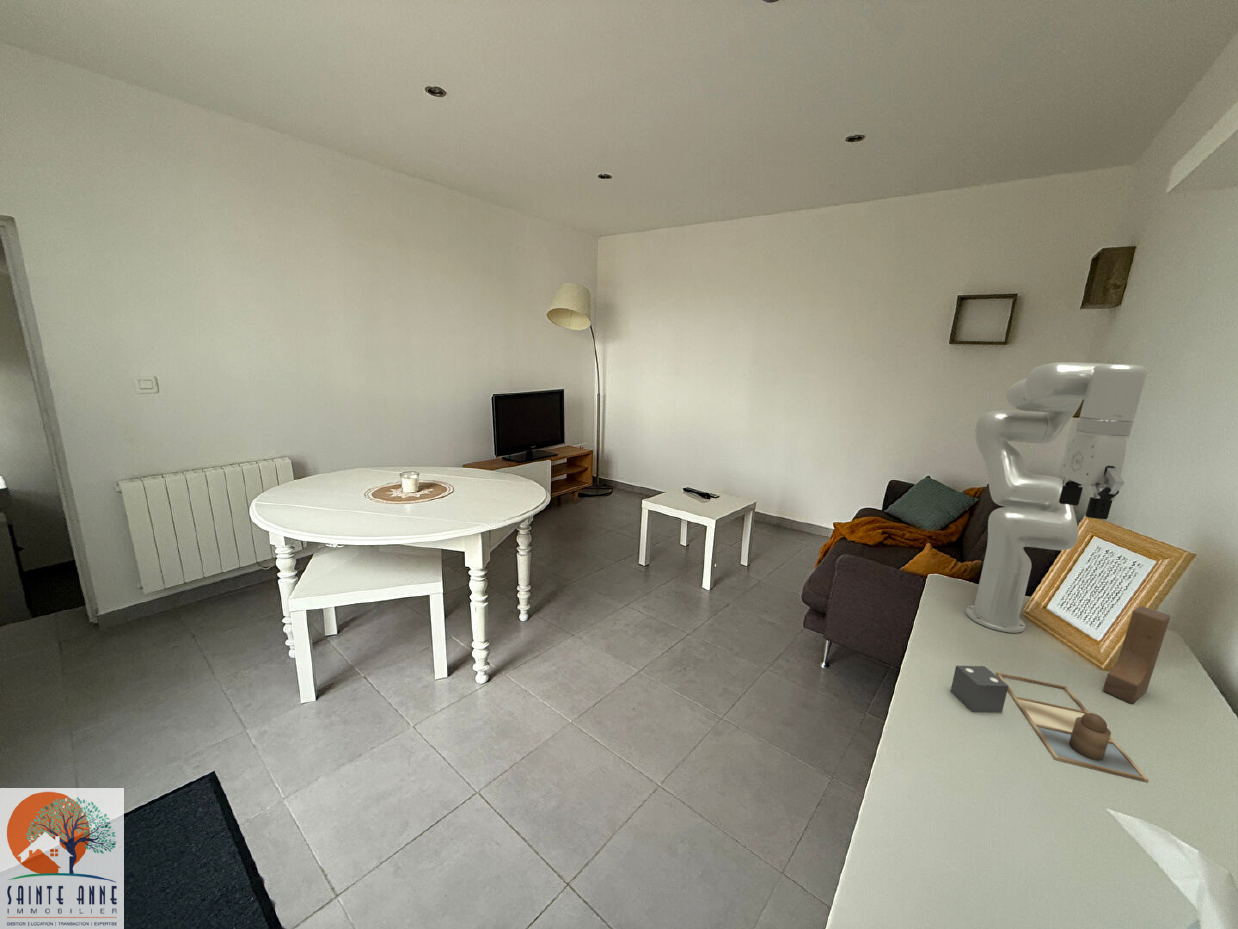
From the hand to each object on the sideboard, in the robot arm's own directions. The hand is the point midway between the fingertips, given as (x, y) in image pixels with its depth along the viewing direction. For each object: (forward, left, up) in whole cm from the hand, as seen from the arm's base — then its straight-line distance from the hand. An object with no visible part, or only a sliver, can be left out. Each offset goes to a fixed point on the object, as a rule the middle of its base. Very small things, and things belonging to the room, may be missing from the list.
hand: (1081, 510), depth 97 cm
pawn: (+24, -3, -38) cm, 45 cm away
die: (+16, -17, -38) cm, 45 cm away
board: (+16, -3, -38) cm, 41 cm away
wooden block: (0, +15, -38) cm, 41 cm away
